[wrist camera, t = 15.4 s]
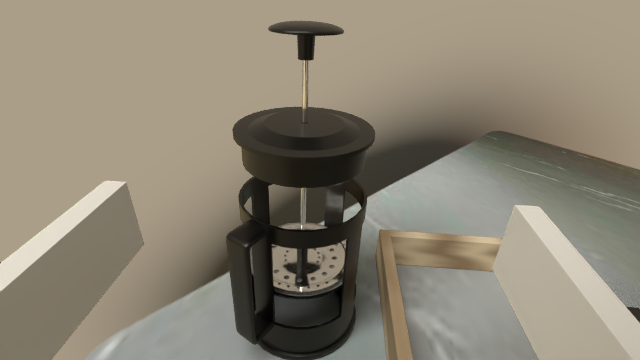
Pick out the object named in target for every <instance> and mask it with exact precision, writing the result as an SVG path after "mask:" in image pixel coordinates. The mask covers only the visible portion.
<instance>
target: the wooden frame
mask: <svg viewBox="0 0 640 360" xmlns="http://www.w3.org/2000/svg"><path fill="white" fill-rule="evenodd" d="M502 239H503V238H491V237H477V236H463V235H449V234H435V233H421V232H407V231H393V230H379V237H378V244H377V250H376V264H377V273H378V282H379V291H380V300H381V309H382V318H383V327H384V336H385V345H386V355H387V360H413V357H412V352H411V346H410V341H409V335H408V330H407V324H406V319H405V313H404V308H403V302H402V297H401V291H400V285H399V280H398V274H397V269H396V264H402V265H415V266H428V267H442V268H455V269H468V270H482V271H493V269H492V267H493V265H494V262H495V259H496V256H497V253H498V251H499V248H500V245H501V242H502Z"/></svg>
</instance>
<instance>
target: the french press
mask: <svg viewBox="0 0 640 360" xmlns="http://www.w3.org/2000/svg"><path fill="white" fill-rule="evenodd" d="M268 29H269V31H271V32H276V33H282V34H292V35H297V40H298V59H299V60H303V76H302V107H285V108H275V109H269V110H264V111H260V112H257V113H253V114H251V115H248V116H245V117H244V118H242V119H240V120H239V121H238V122H237V123H236V124H235V125H234V127H233V137H234V140H235V141H236V143H237V144H238V145H239V146H241V148H242V161H243V165H244V167H245V169H246V170H247V171H248V172H249V173H250V174H252V175H253V176H254V177H252V178H250V179H249V180H248V181H247V182H246V183H245V184H244V185H243V187H242V189H241V190H240V193H239V208H240V217H241V221H242V223H243V224H242V225H241V226H239V227H237V228H236V229H234V230H233V231H231V232H230V233H229V234H228V235H227V236H226V243H227V252H228V261H229V270H230V278H231V287H232V295H233V304H234V312H235V321H236V329H237V332H238V333H239V334H240V335H242V336H243V337H244V338H246V339H247V340H248V341H249V342H251V343H252V344H254V345H256V344H257V343H258V344H259V345H260V346H261V347H262V348H263V349H264V350H266V351H267V352H269V353H271V354H272V355H274V356H277V357H280V358H283V359H287V360H313V359H317V358H321V357H323V356H325V355H328V354H330V353H332V352H333V351H335V350H336V349H338V348H339V347H340V346H341V345H342V344H343V343H344V342H345V341H346V340H347V339H348V337H349V335H350V333H351V332H352V330H353V326H354V323H355V315H356V309H355V304H354V303H355V295H356V283H355V281H356V273H357V264H358V256H359V247H360V239H361V231H362V224H363V222H364V219H365V213H366V205H367V195H366V192H365V190H364V188H363V187H362V186H361V185H360V183H358V182H357V181H356V180H355V179H353V177H355V176H357V175H358V174H359V173H360V172H361V171H362V169H363V167H364V164H365V154H366V150H367V149H368V148H369V147H370V146H372V144H373V142H374V140H375V131H374V129H373V127H372V126H371V125H370V124H369V123H368V122H366V121H365V120H363V119H361V118H359V117H357V116H354V115H352V114H348V113H345V112H341V111H336V110H331V109H324V108H314V107H308V78H309V60H313V59H314V46H315V36H323V35H324V36H325V35H339V34H343V33H344V30H343V29H342V28H340V27H338V26H335V25H332V24H328V23H321V22H313V21H289V22H281V23H277V24H274V25H272V26H270V27H269V28H268ZM272 184H276V185H280V186H285V187H296V188H301V223H290V224H285V225H281V226H278V227H276V226H272V225H270V217H269V191H268V186H269V185H272ZM326 186H327V189H326V207H325V225H324V226H323V225H319V224H314V223H305V218H306V217H305V216H306V188H316V187H326ZM345 190H346V191H347V192H349V193H351V194H352V195H353V196H354V197H355V198H356V199H357V200H358V202H359V203H360V205H361V208H362V209H361V210H360V211H359V212H358V213H357V214H356V215H355V216H354V217H352V218H351V219H349V220H348V221H346V222H343V213H344V201H345ZM250 197H251V198H252V213H253V216H252V215H251V214H250V213H249V212H248V211H247V210H246V209H245V208H244V205H245V203H246V201H247V200H248V199H249V198H250ZM333 292H334V294H335V295H336V297H337V298H338V300H339V303H340V312H339V316H337V317H336V318H334V319H332V320H331V321H328V322H326V323H323V324H321V325H316V326H311V327H291V326H285V325H282V324H279V323H276V322H275V309H274V295H277V296H280V297H284V298H289V299H313V298H318V297H322V296H325V295H328V294H331V293H333Z"/></svg>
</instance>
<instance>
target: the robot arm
mask: <svg viewBox="0 0 640 360" xmlns="http://www.w3.org/2000/svg"><path fill="white" fill-rule="evenodd" d="M143 245H144V242H143V238H142V235H141V231H140V228H139V224H138V221H137V218H136V214H135V211H134V207H133V204H132V200H131V197H130V193H129V190H128V186H127V183H126V182H118V181H104V182H103V183H102V184H100V185H99V186H98V187H97V188H95V189H94V190H93V191H92V192H90V193H89V194H88V195H87V196H85V197H84V198H83V199H81V200H80V201H79V202H78V203H76V204H75V205H74V206H73V207H71V208H70V209H69V210H67V211H66V212H65V213H64V214H62V215H61V216H60V217H59V218H57V219H56V220H55V221H53V222H52V223H51V224H50V225H48V226H47V227H46V228H45V229H43V230H42V231H41V232H40V233H38V234H37V235H36V236H34V237H33V238H32V239H31V240H29V241H28V242H27V243H26V244H24V245H23V246H22V247H20V248H19V249H18V250H17V251H16V252H14V253H13V254H12V255H10V256H9V257H8V258H7V259H5V260H4V261H3V262H0V360H52V359H53V357H54V356H55V355H56V353H57V352H58V351H59V350H60V349H61V347H62V346H63V345H64V344H65V342H66V341H67V340H68V338H69V337H70V336H71V335H72V334H73V332H74V331H75V330H76V329H77V327H78V326H79V325H80V323H81V322H82V321H83V320H84V319H85V317H86V316H87V315H88V314H89V312H90V311H91V310H92V309H93V307H94V306H95V305H96V304H97V302H98V301H99V300H100V299H101V297H102V296H103V295H104V294H105V292H106V291H107V290H108V288H109V287H110V286H111V285H112V283H113V282H114V281H115V280H116V279H117V277H118V276H119V275H120V274H121V272H122V271H123V270H124V269H125V267H126V266H127V265H128V264H129V262H130V261H131V260H132V259H133V257H134V256H135V255H136V254H137V252H138V251H139V250H140V249H141V247H142V246H143ZM492 269H493V271H494V273H495V275H496V277H497V279H498V281H499V282H500V284H501V286H502V288H503V290H504V292H505V294H506V296H507V298H508V300H509V302H510V304H511V306H512V308H513V310H514V312H515V314H516V316H517V318H518V320H519V322H520V324H521V326H522V328H523V330H524V332H525V334H526V336H527V338H528V339H529V341H530V343H531V345H532V347H533V349H534V351H535V353H536V355H537V357H538V359H539V360H640V309H639V308H632V307H626V306H625V305H624V304H623V303H622V302H621V301H620V300H619V298H618V297H617V296H616V295H615V294H614V293H613V291H612V290H611V289H610V288H609V287H608V286H607V285H606V283H605V282H604V281H603V280H602V279H601V278H600V276H599V275H598V274H597V273H596V272H595V271H594V270H593V268H592V267H591V266H590V265H589V264H588V263H587V261H586V260H585V259H584V258H583V257H582V256H581V255H580V253H579V252H578V251H577V250H576V249H575V248H574V246H573V245H572V244H571V243H570V242H569V241H568V240H567V238H566V237H565V236H564V235H563V234H562V233H561V231H560V230H559V229H558V228H557V227H556V226H555V224H554V223H553V222H552V221H551V220H550V219H549V218H548V216H547V215H546V214H545V213H544V212H543V211H542V209H541V208H540V207H539V206H522V205H515V206H514V209H513V211H512V214H511V217H510V220H509V223H508V225H507V228H506V231H505V234H504V237H503V239H502V242H501V245H500V248H499V251H498V253H497V256H496V259H495V262H494V265H493V267H492Z"/></svg>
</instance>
